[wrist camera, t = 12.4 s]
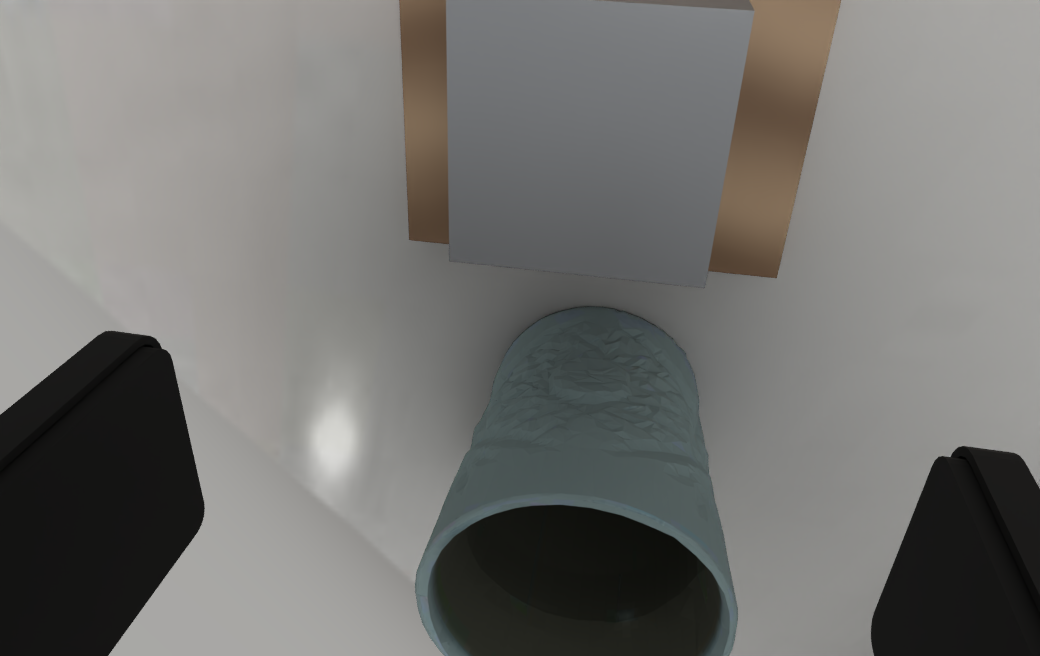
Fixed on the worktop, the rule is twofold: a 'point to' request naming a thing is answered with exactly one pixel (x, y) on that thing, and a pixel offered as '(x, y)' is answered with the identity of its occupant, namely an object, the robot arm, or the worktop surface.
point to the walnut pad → (754, 146)
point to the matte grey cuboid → (592, 133)
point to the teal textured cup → (583, 505)
